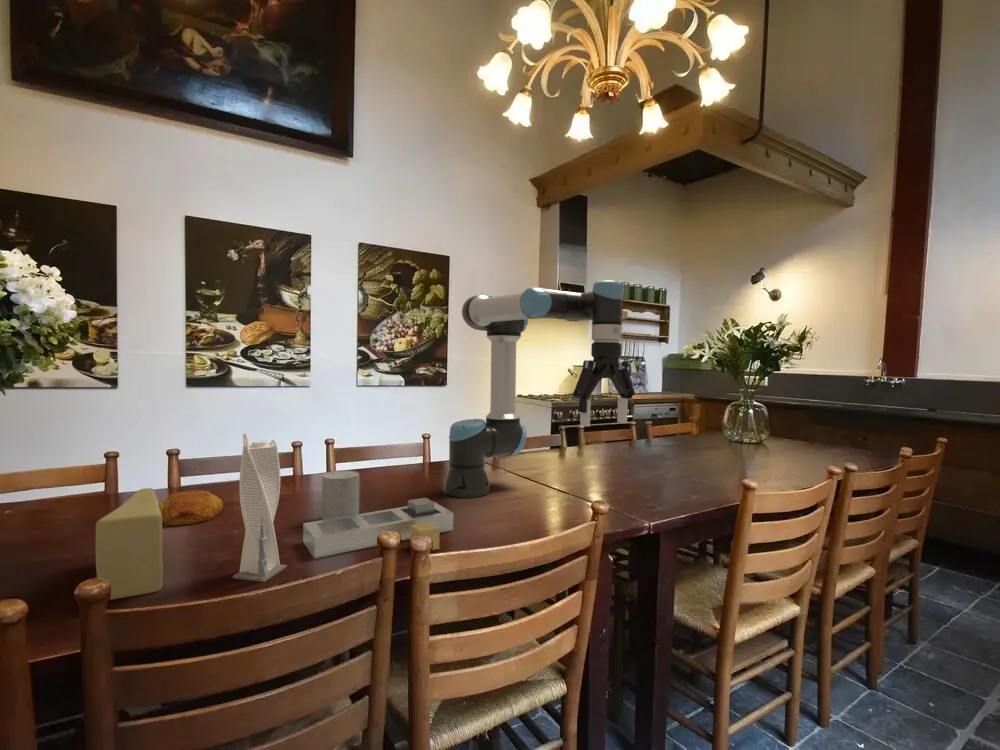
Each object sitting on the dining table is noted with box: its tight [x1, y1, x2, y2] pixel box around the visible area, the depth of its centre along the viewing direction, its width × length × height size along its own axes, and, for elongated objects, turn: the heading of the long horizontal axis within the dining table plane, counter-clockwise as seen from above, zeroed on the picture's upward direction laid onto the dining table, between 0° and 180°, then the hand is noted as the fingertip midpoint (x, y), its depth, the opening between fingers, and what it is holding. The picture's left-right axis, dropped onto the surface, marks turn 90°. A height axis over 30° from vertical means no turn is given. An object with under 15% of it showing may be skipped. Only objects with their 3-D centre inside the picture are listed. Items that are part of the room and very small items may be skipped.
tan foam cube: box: [409, 522, 441, 551], centre depth 114 cm, size 5×5×5 cm
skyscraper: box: [232, 433, 288, 583], centre depth 99 cm, size 8×8×28 cm
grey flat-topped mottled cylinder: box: [321, 469, 361, 520], centre depth 132 cm, size 10×10×12 cm
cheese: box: [95, 487, 164, 601], centre depth 98 cm, size 22×10×15 cm, turn 28°
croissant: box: [158, 489, 224, 526], centre depth 131 cm, size 14×16×8 cm
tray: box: [302, 497, 454, 559], centre depth 120 cm, size 11×34×7 cm, turn 124°
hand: (604, 424), depth 127 cm, fingers open, 13 cm apart
